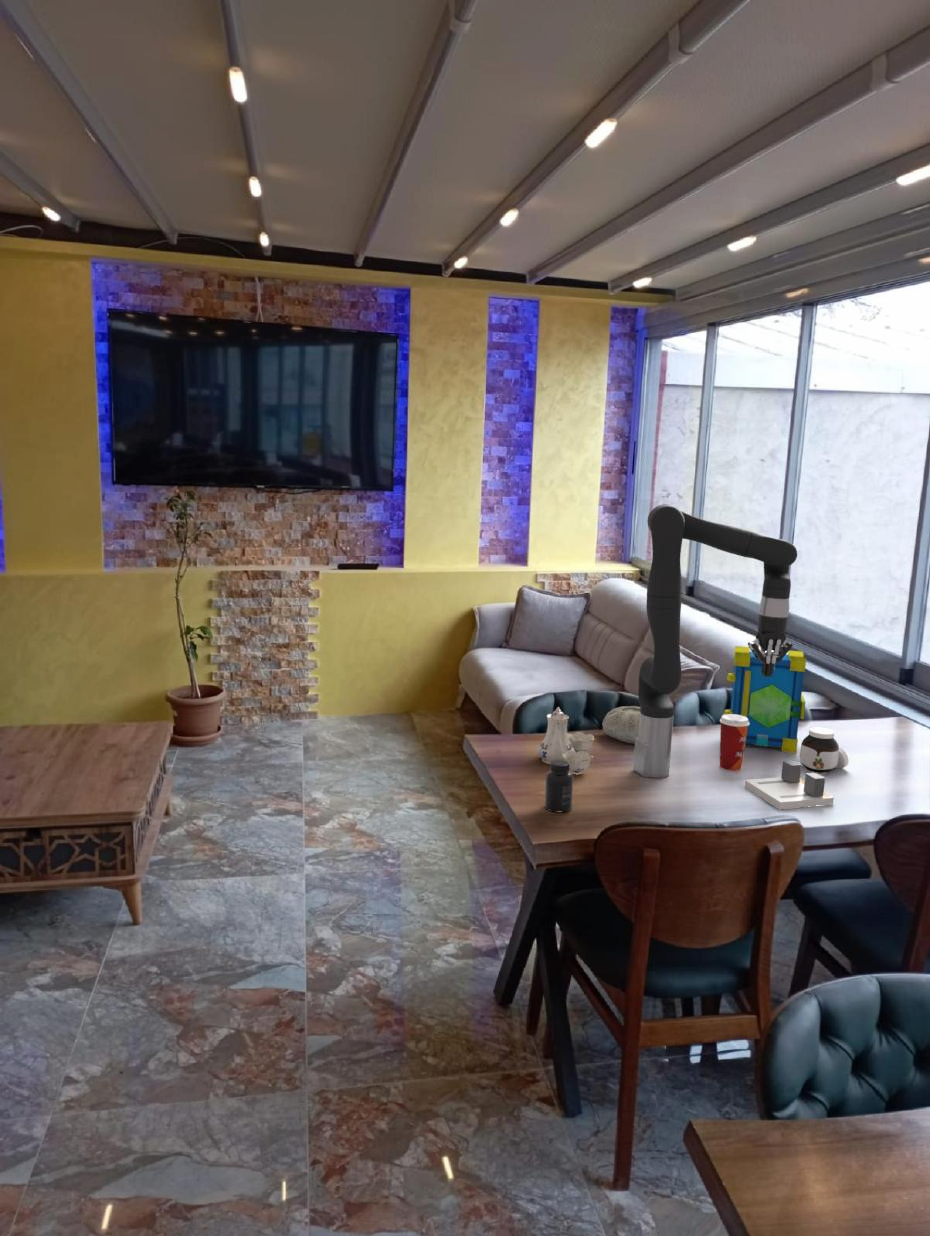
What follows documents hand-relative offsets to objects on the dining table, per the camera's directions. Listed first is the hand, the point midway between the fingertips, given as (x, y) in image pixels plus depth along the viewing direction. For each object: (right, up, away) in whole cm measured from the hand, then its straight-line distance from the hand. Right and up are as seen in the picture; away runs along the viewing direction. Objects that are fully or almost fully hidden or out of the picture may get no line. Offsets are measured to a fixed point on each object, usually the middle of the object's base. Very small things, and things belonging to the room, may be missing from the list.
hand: (766, 676), depth 242 cm
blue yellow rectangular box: (+10, -24, +37) cm, 46 cm away
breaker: (+9, -30, -10) cm, 33 cm away
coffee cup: (-5, -28, +16) cm, 32 cm away
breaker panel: (+4, -32, -6) cm, 32 cm away
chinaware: (-53, -26, +16) cm, 61 cm away
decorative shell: (-30, -23, +38) cm, 54 cm away
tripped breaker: (+6, -28, 0) cm, 29 cm away
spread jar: (+22, -28, +17) cm, 40 cm away
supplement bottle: (-59, -32, -19) cm, 70 cm away
